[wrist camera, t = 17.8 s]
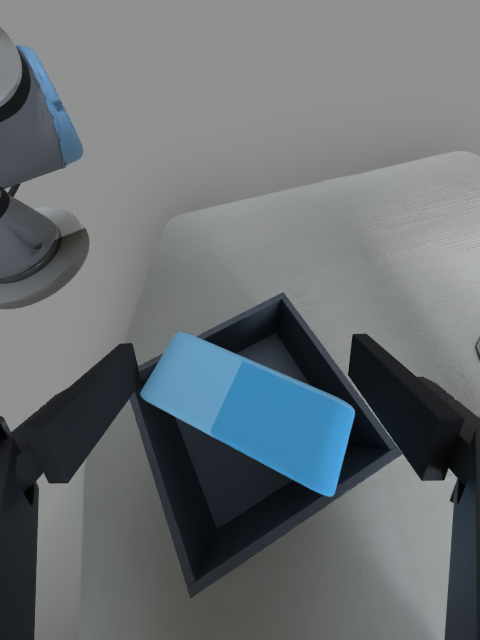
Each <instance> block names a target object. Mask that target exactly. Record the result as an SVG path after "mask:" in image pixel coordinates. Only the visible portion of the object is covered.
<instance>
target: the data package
mask: <svg viewBox="0 0 480 640" xmlns="http://www.w3.org/2000/svg"><path fill="white" fill-rule="evenodd" d="M140 395H141V397H142V398H143V399H144V400H146V401H147V402H149V403H150V404H152V405H154V406H156V407H158V408H160V409H162V410H163V411H165V412H167V413H169V414H171V415H173V416H175V417H176V418H178V419H180V420H182V421H184V422H186V423H188V424H190V425H191V426H193V427H195V428H197V429H199V430H201V431H203V432H205V433H206V434H208V435H210V436H212V437H214V438H216V439H218V440H219V441H221V442H223V443H225V444H227V445H229V446H231V447H233V448H234V449H236V450H238V451H240V452H242V453H244V454H246V455H247V456H249V457H251V458H253V459H255V460H257V461H259V462H261V463H262V464H264V465H266V466H268V467H270V468H272V469H274V470H275V471H277V472H279V473H281V474H283V475H285V476H287V477H289V478H290V479H292V480H294V481H296V482H298V483H300V484H302V485H303V486H305V487H307V488H309V489H311V490H313V491H315V492H317V493H320V494H322V495H325V496H328V497H331V496H333V495H334V494H335V491H336V487H337V483H338V479H339V475H340V471H341V467H342V463H343V459H344V455H345V451H346V447H347V444H348V440H349V436H350V432H351V428H352V424H353V420H354V416H355V410H354V408H353V407H352V406H351V405H350V404H348V403H347V402H345V401H343V400H342V399H340V398H338V397H336V396H333V395H331V394H329V393H327V392H324V391H322V390H319V389H317V388H315V387H312V386H310V385H308V384H305V383H303V382H301V381H298V380H296V379H294V378H291V377H289V376H287V375H284V374H282V373H280V372H277V371H275V370H273V369H270V368H268V367H266V366H263V365H261V364H259V363H256V362H254V361H252V360H249V359H247V358H245V357H242V356H240V355H238V354H235V353H233V352H231V351H228V350H226V349H224V348H221V347H219V346H217V345H214V344H212V343H209V342H207V341H205V340H202V339H200V338H198V337H195V336H193V335H191V334H188V333H184V332H177V333H176V334H175V335H174V337H173V338H172V340H171V342H170V343H169V345H168V347H167V349H166V350H165V352H164V354H163V355H162V357H161V359H160V360H159V362H158V364H157V365H156V367H155V369H154V370H153V372H152V374H151V375H150V377H149V379H148V380H147V382H146V384H145V385H144V387H143V389H142V390H141V392H140Z"/></svg>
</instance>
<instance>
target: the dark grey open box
mask: <svg viewBox="0 0 480 640" xmlns="http://www.w3.org/2000/svg"><path fill="white" fill-rule="evenodd" d="M197 337H198V338H200V339H202V340H205V341H207V342H209V343H212V344H214V345H217V346H219V347H221V348H224V349H226V350H228V351H231V352H233V353H235V354H238V355H240V356H242V357H245V358H247V359H249V360H252V361H254V362H256V363H259V364H261V365H263V366H266V367H268V368H270V369H273V370H275V371H277V372H280V373H282V374H284V375H287V376H289V377H291V378H294V379H296V380H298V381H301V382H303V383H305V384H308V385H310V386H312V387H315V388H317V389H319V390H322V391H324V392H327V393H329V394H331V395H333V396H336V397H338V398H340V399H342V400H343V401H345V402H347V403H348V404H350V405H351V406H352V407H353V408H354V410H355V416H354V420H353V424H352V428H351V432H350V436H349V440H348V444H347V447H346V451H345V455H344V459H343V463H342V467H341V471H340V475H339V479H338V483H337V487H336V491H335V494H334V495H333V496H331V497H328V496H325V495H322V494H320V493H317V492H315V491H313V490H311V489H309V488H307V487H305V486H303V485H302V484H300V483H298V482H296V481H294V480H292V479H290V478H289V477H287V476H285V475H283V474H281V473H279V472H277V471H275V470H274V469H272V468H270V467H268V466H266V465H264V464H262V463H261V462H259V461H257V460H255V459H253V458H251V457H249V456H247V455H246V454H244V453H242V452H240V451H238V450H236V449H234V448H233V447H231V446H229V445H227V444H225V443H223V442H221V441H219V440H218V439H216V438H214V437H212V436H210V435H208V434H206V433H205V432H203V431H201V430H199V429H197V428H195V427H193V426H191V425H190V424H188V423H186V422H184V421H182V420H180V419H178V418H176V417H175V416H173V415H171V414H169V413H167V412H165V411H163V410H162V409H160V408H158V407H156V406H154V405H152V404H150V403H149V402H147V401H146V400H144V399H143V398H142V397H141V395H140V392H141V390H142V389H143V387H144V385H145V384H146V382H147V380H148V379H149V377H150V375H151V374H152V372H153V370H154V369H155V367H156V365H157V364H158V362H159V360H160V359H161V357H162V355H163V354H164V353H163V354H161V355H159V356H157V357H155V358H153V359H152V360H150V361H148V362H146V363H144V364H142V365H140V366H138V369H139V373H140V378H141V383H140V384H139V386H138V387H137V389H136V390H135V391H134V393H133V394H132V395H131V397H130V401H131V404H132V408H133V411H134V414H135V418H136V421H137V424H138V427H139V431H140V434H141V437H142V441H143V444H144V447H145V450H146V454H147V457H148V460H149V464H150V467H151V470H152V473H153V477H154V480H155V483H156V487H157V490H158V493H159V496H160V500H161V503H162V506H163V510H164V513H165V516H166V519H167V523H168V526H169V529H170V533H171V536H172V539H173V542H174V546H175V549H176V552H177V556H178V559H179V562H180V565H181V569H182V572H183V575H184V578H185V582H186V585H187V588H188V592H189V595H190V598H192V597H193V596H195V595H196V594H198V593H199V592H200V591H202V590H203V589H205V588H206V587H208V586H209V585H211V584H212V583H214V582H215V581H217V580H218V579H220V578H221V577H223V576H224V575H225V574H227V573H228V572H230V571H231V570H233V569H234V568H236V567H237V566H239V565H240V564H242V563H243V562H245V561H246V560H248V559H249V558H250V557H252V556H253V555H255V554H256V553H258V552H259V551H261V550H262V549H264V548H265V547H267V546H268V545H270V544H271V543H273V542H274V541H275V540H277V539H278V538H280V537H281V536H283V535H284V534H286V533H287V532H289V531H290V530H292V529H293V528H295V527H296V526H298V525H299V524H300V523H302V522H303V521H305V520H306V519H308V518H309V517H311V516H312V515H314V514H315V513H317V512H318V511H320V510H321V509H323V508H324V507H325V506H327V505H328V504H330V503H331V502H333V501H334V500H336V499H337V498H339V497H340V496H342V495H343V494H345V493H346V492H348V491H349V490H350V489H352V488H353V487H355V486H356V485H358V484H359V483H361V482H362V481H364V480H365V479H367V478H368V477H370V476H371V475H373V474H374V473H375V472H377V471H378V470H380V469H381V468H383V467H384V466H386V465H387V464H389V463H390V462H392V461H393V460H395V459H396V458H398V457H399V456H400V455H402V453H401V451H400V450H399V449H398V447H397V446H396V445H395V444H394V442H393V441H392V439H391V438H390V437H389V435H388V434H387V433H386V431H385V430H384V429H383V427H382V426H381V424H380V423H379V422H378V420H377V419H376V418H375V416H374V415H373V414H372V412H371V411H370V409H369V408H368V407H367V405H366V404H365V403H364V401H363V400H362V399H361V397H360V396H359V395H358V393H357V392H356V390H355V389H354V388H353V386H352V385H351V384H350V382H349V381H348V380H347V378H346V377H345V375H344V374H343V373H342V371H341V370H340V369H339V367H338V366H337V365H336V363H335V362H334V360H333V359H332V358H331V356H330V355H329V354H328V352H327V351H326V350H325V348H324V347H323V345H322V344H321V343H320V341H319V340H318V339H317V337H316V336H315V335H314V333H313V332H312V331H311V329H310V328H309V326H308V325H307V324H306V322H305V321H304V320H303V318H302V317H301V316H300V314H299V313H298V311H297V310H296V309H295V307H294V306H293V305H292V303H291V302H290V301H289V299H288V298H287V297H286V295H285V294H284V293H281V294H279V295H277V296H275V297H273V298H271V299H269V300H267V301H265V302H263V303H261V304H259V305H257V306H256V307H254V308H252V309H250V310H248V311H246V312H244V313H242V314H240V315H238V316H236V317H234V318H232V319H230V320H228V321H226V322H224V323H222V324H220V325H218V326H216V327H214V328H212V329H210V330H208V331H206V332H204V333H203V334H201V335H199V336H197Z"/></svg>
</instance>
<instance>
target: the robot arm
mask: <svg viewBox="0 0 480 640" xmlns="http://www.w3.org/2000/svg"><path fill="white" fill-rule="evenodd" d="M82 155H83V147H82V144H81V142H80V139H79V137H78V135H77V133H76V130H75V128H74V126H73V124H72V122H71V120H70V118H69V116H68V114H67V112H66V111H65V108H64V107H63V105H62V102H61V101H60V98H59V97H58V94H57V93H56V90H55V88H54V86H53V84H52V82H51V80H50V79H49V77H48V75H47V73H46V71H45V69H44V67H43V65H42V64H41V62H40V60H39V58H38V56H37V55H36V53H35V52H34V51H33V50H32V49H31V48H30V47H27V46H21V45H17V46H15V45H14V43H13V41H12V40H11V39H10V37H9V36H8V35H7V34H6V33H5V32H4V30H3V29H2V28H1V27H0V284H7V283H13V282H17V281H20V280H23V279H26V278H28V277H30V276H32V275H34V274H35V273H37V272H38V271H40V270H41V269H43V268H44V267H45V266H46V265H47V264H48V263H49V262H50V261H51V260H52V259H53V258H54V256H55V255H56V253H57V252H58V250H59V248H60V245H61V240H62V236H61V232H60V230H59V228H58V227H57V226H56V225H55V224H54V223H53V222H52V221H51V220H50V219H48V218H47V217H46V216H44V215H43V214H41V213H39V212H38V211H36V210H34V209H32V208H30V207H29V206H27V205H25V204H23V203H22V202H20V201H18V200H17V199H15V198H13V196H14V195H15V193H16V191H17V190H18V187H19V186H20V183H22V182H25V181H28V180H31V179H33V178H36V177H39V176H42V175H44V174H47V173H50V172H53V171H55V170H58V169H62V168H65V167H66V165H68V164H70V163H72V162H75V161H77V160H78V159H80V158H81V157H82ZM11 186H12V187H11ZM8 187H11V189H10V190H9V192H8V193H7V192H6V191H5V190H4V189H5V188H8ZM348 376H349V377H350V378H351V380H352V381H353V383H354V384H355V386H356V387H357V389H358V390H359V391H360V393H361V394H362V396H363V397H364V399H365V400H366V401H367V403H368V404H369V406H370V407H371V409H372V410H373V411H374V413H375V414H376V416H377V417H378V419H379V420H380V422H381V423H382V424H383V426H384V427H385V429H386V430H387V432H388V433H389V434H390V436H391V437H392V439H393V440H394V442H395V443H396V444H397V446H398V447H399V449H400V450H401V452H402V453H403V454H404V456H405V457H406V459H407V460H408V462H409V463H410V465H411V466H412V467H413V469H414V470H415V472H416V473H417V475H418V476H419V477H420V479H421V480H422V481H432V480H445V477H446V474H447V471H448V468H449V469H450V470H451V471H452V472H453V473H454V474H455V476H456V477H457V478H458V479H457V482H456V485H455V487H454V490H453V493H452V496H451V499H450V501H451V502H453V503H454V510H453V525H452V540H451V555H450V569H449V584H448V599H447V614H446V629H445V640H480V418H479V417H477V416H476V415H475V414H474V413H472V412H471V411H470V410H469V409H467V408H466V407H465V406H464V405H462V404H461V403H460V402H459V401H457V400H455V399H454V397H452V396H451V395H450V394H449V393H446V391H445V390H444V389H442V388H441V387H440V386H439V385H437V384H436V383H434V382H432V381H430V380H428V379H426V378H424V377H416V376H415V375H414V374H413V373H412V372H410V371H409V370H408V369H407V368H406V367H405V366H403V365H402V364H401V363H400V362H399V361H398V360H396V359H395V358H394V357H393V356H392V355H391V354H389V353H388V352H387V351H386V350H385V349H384V348H382V347H381V346H380V345H379V344H378V343H377V342H375V341H374V340H373V339H372V338H371V337H370V336H368V335H367V334H353V336H352V345H351V354H350V363H349V372H348ZM140 383H141V378H140V373H139V369H138V365H137V361H136V357H135V353H134V349H133V344H132V343H127V344H119V345H118V346H117V347H116V348H115V349H114V350H112V351H111V352H110V353H109V354H108V355H106V356H105V357H104V358H103V359H102V360H101V361H99V362H98V363H97V364H96V365H95V366H94V367H92V368H91V369H90V370H89V371H88V372H87V373H85V374H84V375H83V376H82V377H81V378H80V379H78V380H77V381H76V382H75V383H74V384H73V385H71V386H70V387H69V388H67V389H66V390H64V391H62V392H61V393H59V394H57V395H55V396H54V397H53V398H52V399H50V400H49V401H48V402H47V403H46V405H43V406H42V407H41V408H40V409H39V410H38V411H36V412H35V413H34V414H33V415H31V416H30V417H29V418H28V419H27V420H25V421H24V422H23V423H22V424H21V425H19V426H18V427H17V428H16V429H15V430H13V431H12V432H10V430H9V428H8V426H7V424H6V422H5V420H4V418H3V417H1V416H0V640H34V626H35V596H36V563H37V529H38V497H39V488H38V485H37V483H36V481H37V479H38V478H39V477H40V476H41V475H42V474H43V472H44V474H45V476H46V478H47V480H48V482H49V483H68V482H69V481H70V479H71V478H72V477H73V476H74V474H75V473H76V471H77V470H78V468H79V467H80V466H81V464H82V463H83V462H84V460H85V459H86V458H87V456H88V455H89V453H90V452H91V451H92V449H93V448H94V447H95V445H96V444H97V442H98V441H99V440H100V438H101V437H102V435H103V434H104V433H105V431H106V430H107V429H108V427H109V426H110V424H111V423H112V422H113V420H114V419H115V418H116V416H117V415H118V413H119V412H120V411H121V409H122V408H123V406H124V405H125V404H126V402H127V401H128V400H129V398H130V397H131V395H132V394H133V393H134V391H135V390H136V389H137V387H138V386H139V384H140Z"/></svg>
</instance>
